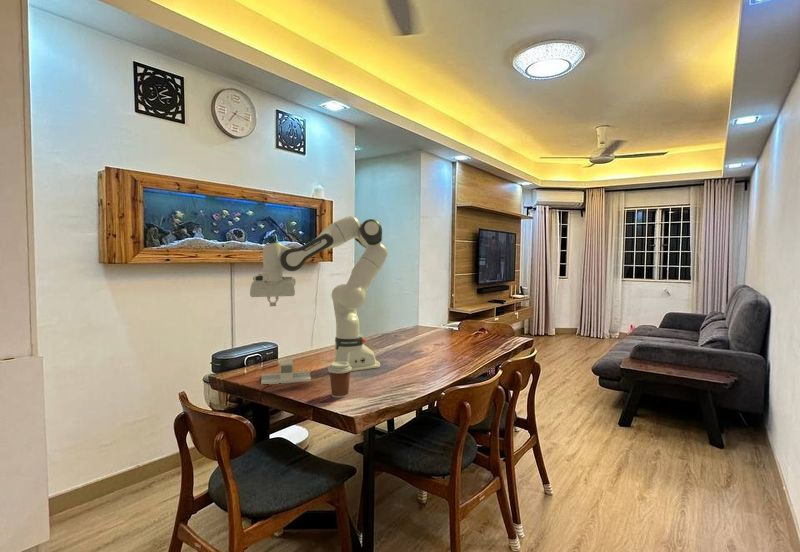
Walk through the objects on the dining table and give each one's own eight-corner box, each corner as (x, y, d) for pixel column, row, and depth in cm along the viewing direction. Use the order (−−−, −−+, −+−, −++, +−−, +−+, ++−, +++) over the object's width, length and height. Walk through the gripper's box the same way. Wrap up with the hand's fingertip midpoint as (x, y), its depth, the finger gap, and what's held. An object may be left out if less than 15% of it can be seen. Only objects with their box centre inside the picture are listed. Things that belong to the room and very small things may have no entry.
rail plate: (308, 373, 188) (308, 367, 188) (311, 381, 177) (311, 375, 177) (261, 377, 183) (261, 371, 182) (261, 385, 171) (261, 379, 171)
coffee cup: (335, 389, 165) (335, 359, 165) (356, 392, 162) (356, 362, 161) (323, 397, 157) (323, 365, 156) (344, 400, 154) (344, 367, 153)
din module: (291, 373, 185) (291, 358, 184) (292, 379, 176) (292, 363, 176) (280, 374, 183) (279, 358, 183) (280, 380, 174) (280, 364, 174)
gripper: (295, 276, 202) (295, 304, 203) (250, 276, 196) (250, 306, 197) (295, 276, 196) (296, 306, 197) (249, 277, 190) (249, 307, 191)
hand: (272, 306), depth 197 cm, fingers closed
